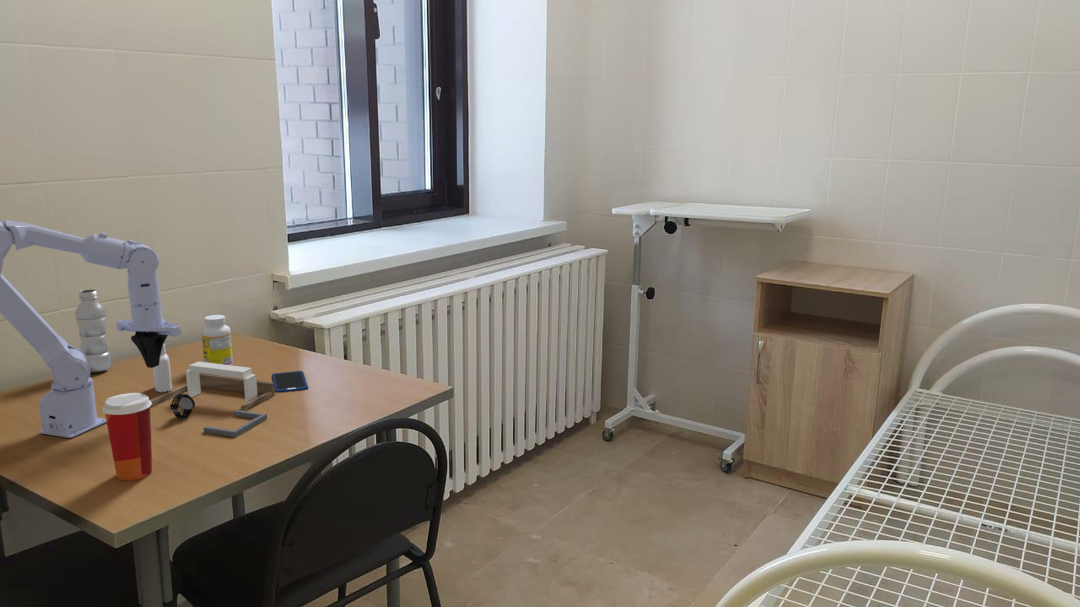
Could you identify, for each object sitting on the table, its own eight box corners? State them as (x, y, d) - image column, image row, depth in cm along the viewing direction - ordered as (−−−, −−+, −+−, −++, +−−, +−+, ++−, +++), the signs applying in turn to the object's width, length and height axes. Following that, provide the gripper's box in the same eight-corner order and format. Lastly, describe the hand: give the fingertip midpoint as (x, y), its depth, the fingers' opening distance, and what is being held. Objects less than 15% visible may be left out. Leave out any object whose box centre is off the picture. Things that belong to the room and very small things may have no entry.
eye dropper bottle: (177, 384, 191) (172, 335, 188) (169, 392, 185) (164, 342, 182) (157, 385, 190) (152, 335, 187) (149, 393, 185) (144, 342, 182)
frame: (235, 437, 161) (234, 432, 161) (203, 432, 163) (203, 427, 163) (267, 418, 171) (266, 414, 171) (237, 414, 173) (236, 409, 173)
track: (212, 428, 165) (211, 414, 165) (128, 415, 171) (127, 402, 171) (274, 395, 185) (273, 382, 184) (197, 384, 191) (196, 372, 190)
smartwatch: (198, 416, 172) (196, 393, 171) (176, 423, 168) (173, 400, 167) (187, 411, 174) (185, 389, 173) (164, 418, 170) (162, 396, 169)
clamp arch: (249, 405, 178) (247, 372, 176) (188, 397, 183) (185, 364, 181) (257, 401, 181) (255, 368, 179) (197, 392, 185) (194, 360, 184)
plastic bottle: (82, 369, 201) (72, 289, 196) (113, 366, 203) (104, 287, 199) (80, 377, 195) (70, 295, 190) (111, 373, 198) (103, 292, 193)
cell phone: (275, 394, 186) (275, 391, 186) (271, 376, 199) (271, 373, 199) (308, 391, 189) (308, 388, 189) (302, 373, 202) (302, 370, 201)
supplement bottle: (205, 363, 206) (201, 314, 203) (233, 361, 208) (229, 312, 205) (203, 371, 200) (199, 321, 197) (232, 369, 202) (228, 319, 199)
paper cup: (145, 461, 150) (138, 388, 147) (166, 473, 145) (159, 398, 142) (101, 475, 144) (92, 400, 141) (121, 488, 139) (112, 410, 136)
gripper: (188, 301, 169) (195, 363, 172) (131, 296, 173) (139, 357, 177) (163, 309, 163) (171, 374, 166) (105, 303, 167) (113, 367, 170)
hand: (153, 366), depth 171 cm, fingers closed
